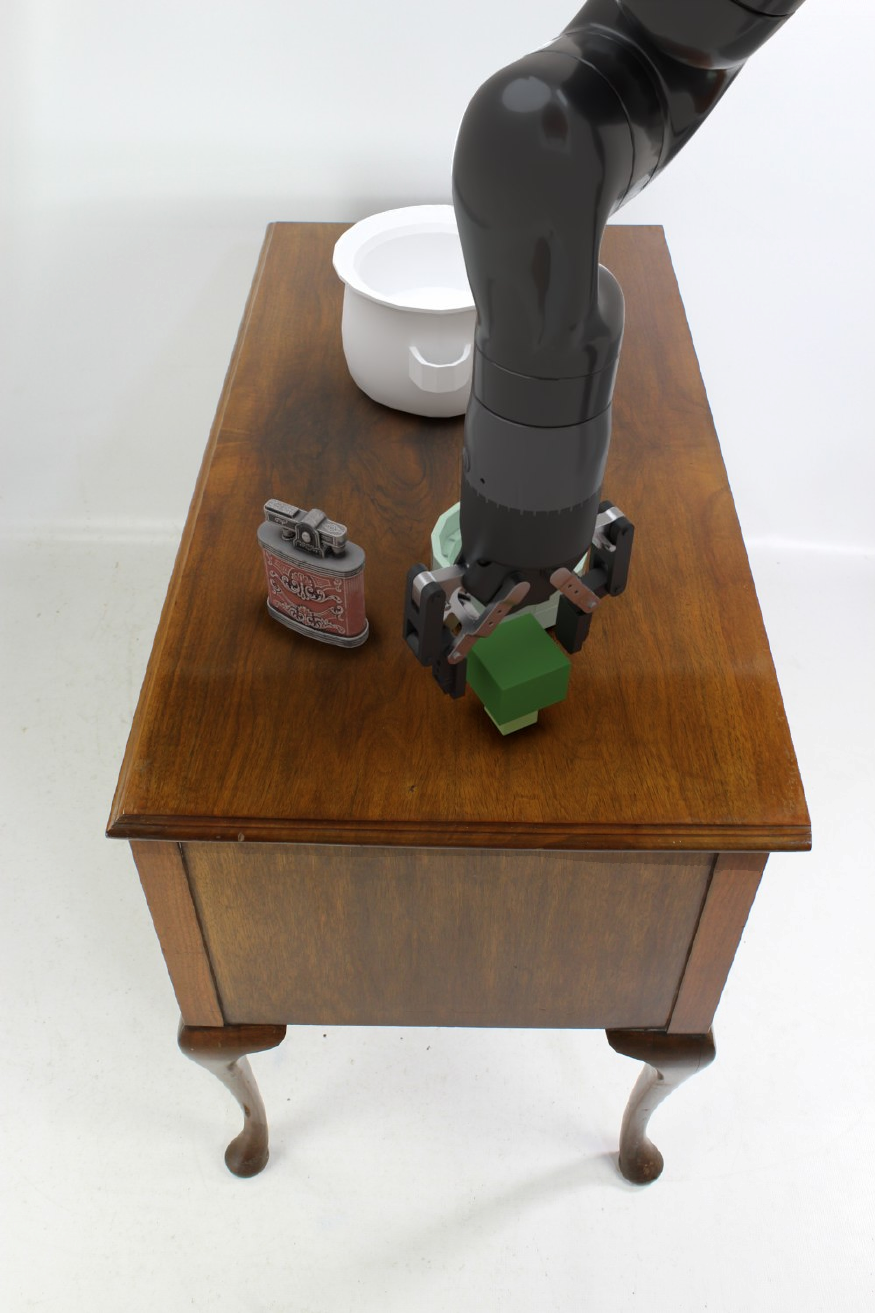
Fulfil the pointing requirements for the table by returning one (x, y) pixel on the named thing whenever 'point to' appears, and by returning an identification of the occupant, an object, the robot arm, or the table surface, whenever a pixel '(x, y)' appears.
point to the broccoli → (517, 672)
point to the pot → (408, 310)
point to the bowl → (448, 547)
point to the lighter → (313, 575)
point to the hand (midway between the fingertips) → (510, 666)
